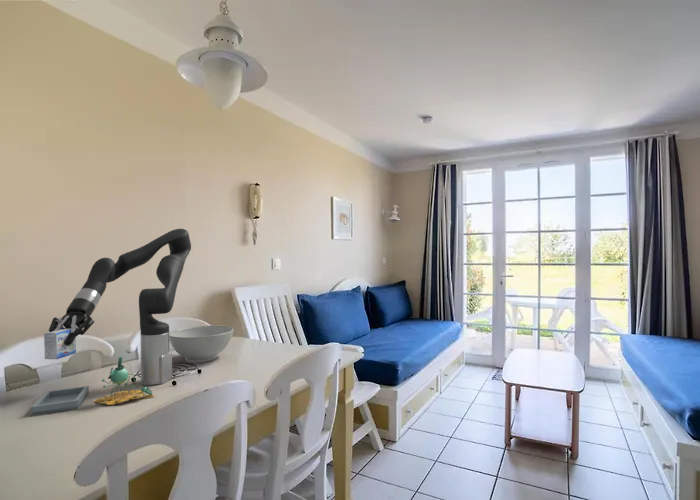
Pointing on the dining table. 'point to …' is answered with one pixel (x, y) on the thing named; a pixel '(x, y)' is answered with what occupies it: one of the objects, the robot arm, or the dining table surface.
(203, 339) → the decorative bowl
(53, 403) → the tray
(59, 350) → the medicine box
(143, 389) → the frog figurine
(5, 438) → the dining table surface
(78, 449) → the dining table surface
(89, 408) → the dining table surface
